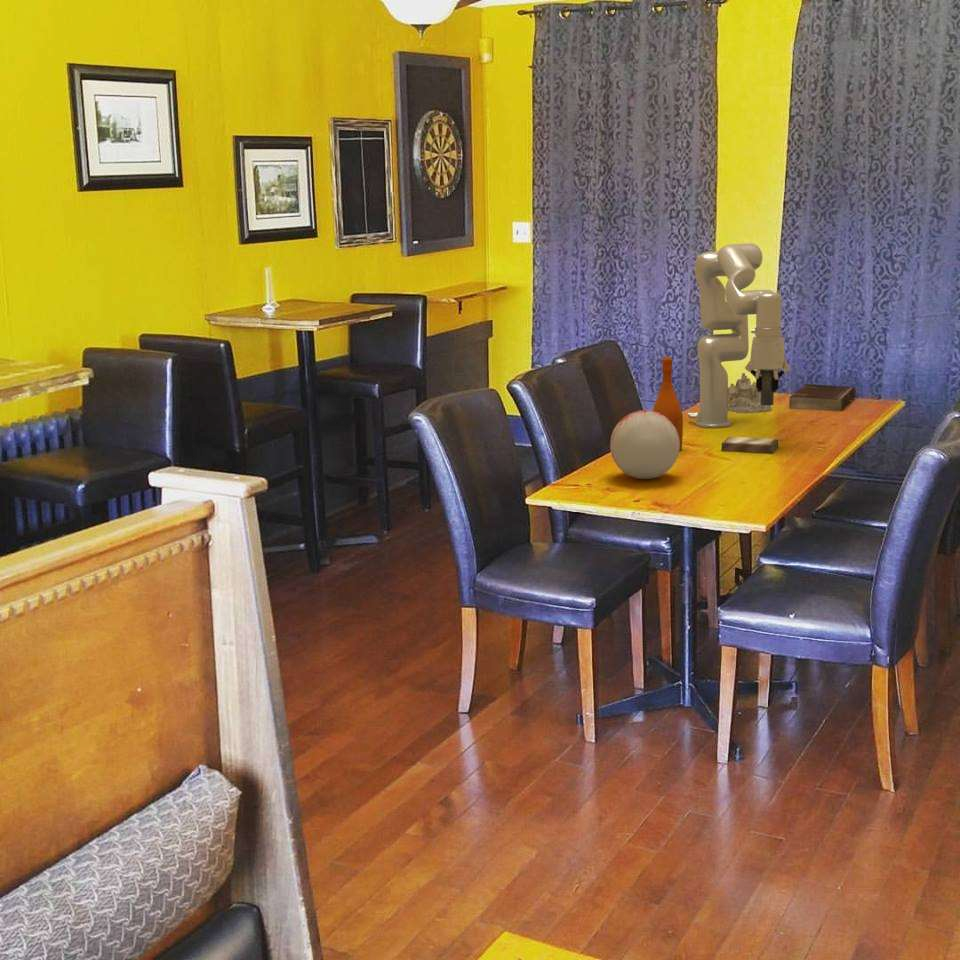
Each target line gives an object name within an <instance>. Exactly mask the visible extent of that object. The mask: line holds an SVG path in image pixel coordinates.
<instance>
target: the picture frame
mask: <svg viewBox="0 0 960 960" xmlns="http://www.w3.org/2000/svg"><path fill="white" fill-rule="evenodd" d="M778 448H779V439H777V438H776V439H775V438H767V437H766V438H763V437H762V438H761V437H747V436H745V437H744V436H743V437H741V436H728V437H727V438H726V439H725V440H724V441H722V443H721V452H731V451H732V452H735V453H749V452H751V454H752V452H753V454H771V455H772V454H774V453H775V452H776V450H777V449H778Z"/></svg>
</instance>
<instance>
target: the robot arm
mask: <svg viewBox="0 0 960 960" xmlns="http://www.w3.org/2000/svg"><path fill="white" fill-rule="evenodd" d="M695 259H696V260H695V263H694V272H695V273H694V274H695V279H696V282H697V284H698V287H699V303H700V321H701V326H702V328H703V329H704V330H707V331H723V330H724V331H725V330H730V331H731V333H714V334H706V335H704V336H702V337H701V338H700V339H699V340H698V342H697V354H698V361H699V374H700V375H699V411H697V412H694V411H693V412H692V411H688V413H687V418H689V419H696V420H695V425H696V426H697V427H701V428H711V429H713V428H715V429H717V428H727V427H730V426H733V421H732V420H731V419H728V412H729V411H728V387H729V375H728V371H727V370H726V368H725V367H724V366H723V364H722V363H724V362H737V361H743V360H744V359H746V358H747V356H748V353H749V346H750V345H749V344H750V343H749V342H750V341H749V339H750V338H749V316H750V315H755V328H751V329H750V331H751V334H754V335H755V336H754V337H752V342H751V349H750V358H749V359H750V360H749V361H748V362H747V364H746V366H745V368H744V369H745V370H746V371H747V372H749V373H750V374H751V375H752V376H753V377H754V378H755V380H756V381H755V382H756V389H758V392H760V391H761V370H773V372H774V379H773V392H774V393H776V392H777V391H778V390H779V384H780V383H779V381H780V380H779V379H780V378H781V377H782V376H783V375H784V374H786V373H787V372H789V371H791V366H790V365H789V364H788V362H787V360H786V353H785V342H784V336H781V335H782V301H783V299H782V294H780V293H779V292H776V291H775V292H774V291H773V290H771V289H753V290H752V289H751V290H744V289H746V288H747V287H750V285H751V284H752V283H753V282H754V281H755V278H756V270H758V269H759V268H760V267H761V265H762V264H763V263H762V262H763V252H762V249H761V248H760V247H759V245H757V244H755V243H731V244H726V245H724V246H722V247H721V248H719V250H714V251H706V252H702V253H701V254H699V255H698V256H697V257H696V258H695ZM718 277H726V279H728V280H727V282H726V284H725V286H724V283H722V281H721V280H720V278H718Z"/></svg>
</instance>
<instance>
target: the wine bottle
mask: <svg viewBox="0 0 960 960" xmlns="http://www.w3.org/2000/svg"><path fill="white" fill-rule="evenodd" d="M661 365H662V367H661V371H662V381H661V387H659V391H658V395H657V398H656V399H655V402H654V405H653V408H652V411H654V412H657V413H660V414H662V415H663V416H665V417H666V418H668V419H669V420H670V421H671V422H672V424H673V425H674V427H675V428H676V430H677V432H678V435H679V441H680V449H679V451H680V450H682V447H683V434H684V431H683V428H684V427H683V426H684V421H683V419H684V418H683V417H684V416H683V410H682V406H681V404H680V401H679V398H678V396H677V394H676V392H675V389H674V386H673V379H672V375H673V374H672V372H673V358H672V357H671V356H663V357H662V359H661Z"/></svg>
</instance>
